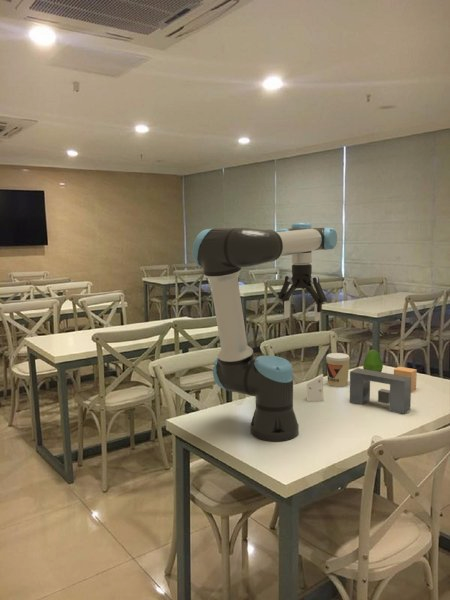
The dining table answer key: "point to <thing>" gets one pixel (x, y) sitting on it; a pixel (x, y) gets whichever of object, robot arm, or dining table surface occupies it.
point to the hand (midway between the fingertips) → (301, 319)
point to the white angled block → (315, 389)
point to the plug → (408, 372)
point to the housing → (398, 383)
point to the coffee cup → (337, 369)
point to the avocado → (373, 361)
